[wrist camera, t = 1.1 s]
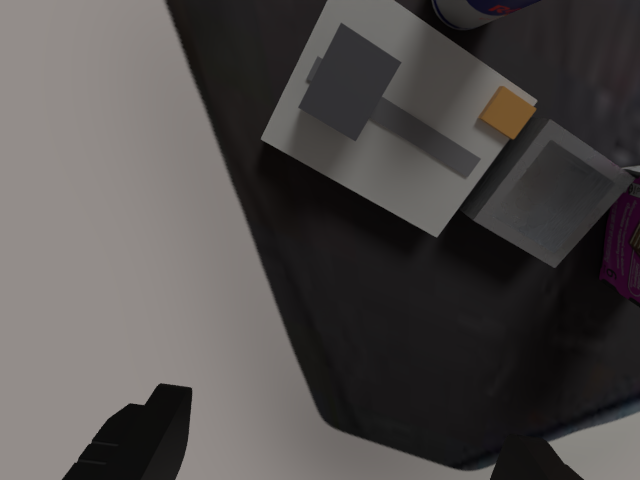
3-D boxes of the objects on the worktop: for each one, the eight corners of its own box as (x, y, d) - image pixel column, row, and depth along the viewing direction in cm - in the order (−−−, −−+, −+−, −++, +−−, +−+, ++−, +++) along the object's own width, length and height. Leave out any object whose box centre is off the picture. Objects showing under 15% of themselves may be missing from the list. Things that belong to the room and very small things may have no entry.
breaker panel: (266, 135, 29) (259, 140, 25) (341, -20, 25) (344, -38, 22) (426, 225, 32) (439, 240, 29) (515, 100, 28) (542, 100, 25)
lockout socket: (455, 206, 31) (472, 220, 28) (521, 116, 28) (550, 119, 25) (529, 249, 33) (554, 268, 29) (598, 168, 30) (635, 178, 27)
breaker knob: (300, 105, 25) (298, 107, 21) (337, 34, 23) (341, 22, 19) (349, 134, 25) (355, 141, 22) (388, 67, 24) (401, 62, 20)
